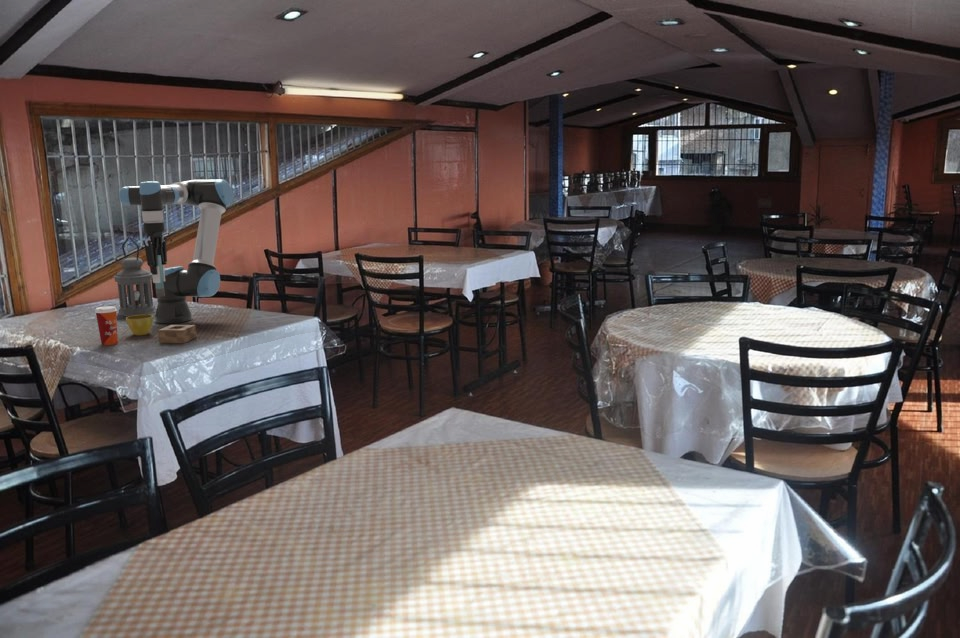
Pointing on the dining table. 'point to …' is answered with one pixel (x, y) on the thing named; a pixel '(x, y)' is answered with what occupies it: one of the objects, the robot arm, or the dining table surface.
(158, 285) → the teal rectangular bar
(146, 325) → the flower pot
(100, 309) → the paper cup
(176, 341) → the wooden block with hole
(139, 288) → the lantern
